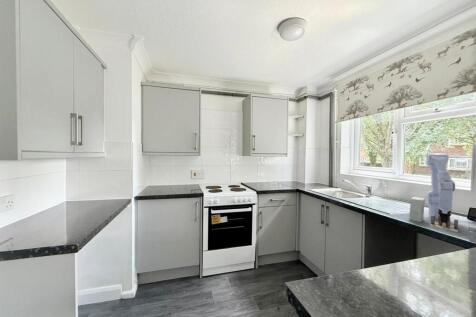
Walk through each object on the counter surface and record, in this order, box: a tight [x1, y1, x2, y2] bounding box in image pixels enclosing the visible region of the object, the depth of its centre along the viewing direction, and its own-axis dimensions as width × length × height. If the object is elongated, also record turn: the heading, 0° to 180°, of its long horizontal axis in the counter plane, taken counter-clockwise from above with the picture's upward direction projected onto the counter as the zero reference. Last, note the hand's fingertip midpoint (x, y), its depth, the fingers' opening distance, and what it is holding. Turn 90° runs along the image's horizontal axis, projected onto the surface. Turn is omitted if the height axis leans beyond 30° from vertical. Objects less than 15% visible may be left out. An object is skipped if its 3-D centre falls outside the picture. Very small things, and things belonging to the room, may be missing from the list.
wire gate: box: [430, 216, 459, 230], centre depth 120 cm, size 3×11×5 cm, turn 44°
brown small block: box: [437, 216, 451, 226], centre depth 123 cm, size 5×5×4 cm
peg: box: [438, 223, 449, 231], centre depth 116 cm, size 4×4×3 cm
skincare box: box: [408, 196, 426, 223], centre depth 131 cm, size 8×6×15 cm
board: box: [430, 220, 459, 233], centre depth 120 cm, size 15×11×1 cm
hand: (444, 222), depth 123 cm, fingers open, 6 cm apart
